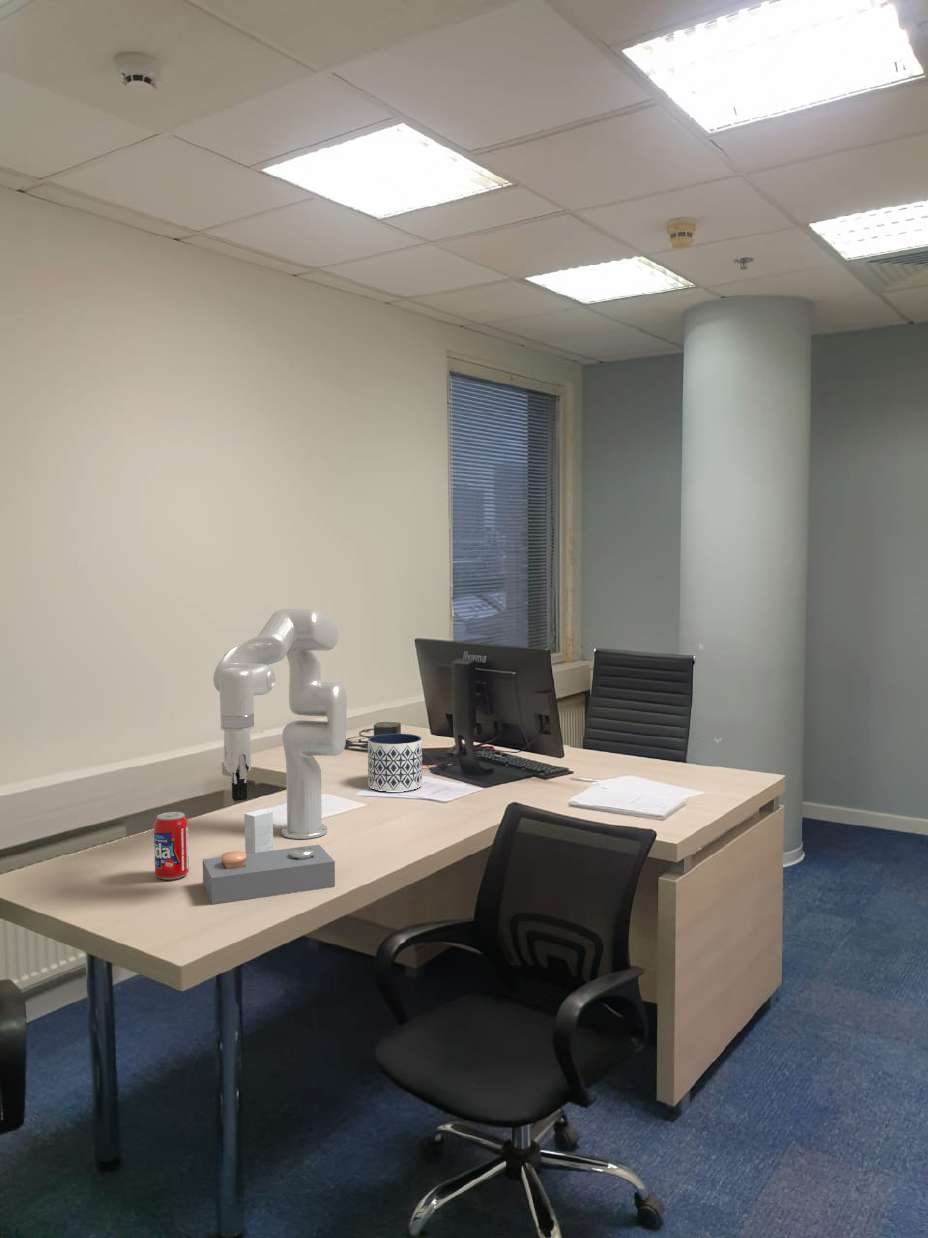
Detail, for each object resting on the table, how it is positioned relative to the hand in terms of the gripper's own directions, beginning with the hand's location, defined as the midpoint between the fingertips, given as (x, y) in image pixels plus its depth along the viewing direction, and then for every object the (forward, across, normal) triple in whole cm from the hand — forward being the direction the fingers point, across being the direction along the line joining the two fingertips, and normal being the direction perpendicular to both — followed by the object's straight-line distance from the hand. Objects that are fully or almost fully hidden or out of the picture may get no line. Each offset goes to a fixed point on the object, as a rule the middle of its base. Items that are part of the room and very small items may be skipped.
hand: (239, 799), depth 216 cm
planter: (+24, -76, +64) cm, 102 cm away
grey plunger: (+20, +3, +14) cm, 24 cm away
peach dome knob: (+19, +3, -2) cm, 19 cm away
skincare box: (+21, -18, +8) cm, 29 cm away
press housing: (+21, +3, +6) cm, 22 cm away
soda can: (+21, -13, -14) cm, 29 cm away
